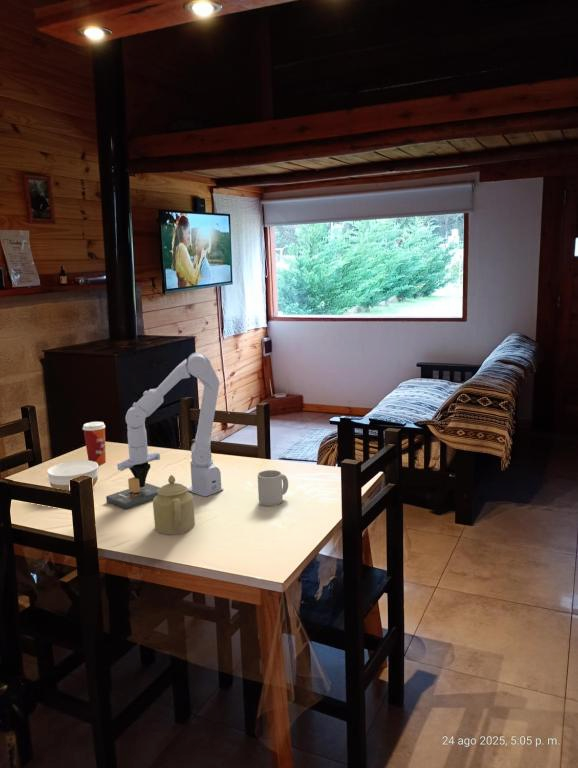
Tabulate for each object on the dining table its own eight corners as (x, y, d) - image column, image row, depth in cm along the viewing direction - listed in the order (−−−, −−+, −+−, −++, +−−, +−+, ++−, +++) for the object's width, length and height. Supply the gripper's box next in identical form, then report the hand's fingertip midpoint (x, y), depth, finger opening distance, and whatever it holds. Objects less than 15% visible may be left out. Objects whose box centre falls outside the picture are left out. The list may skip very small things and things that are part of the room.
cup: (254, 501, 194) (253, 473, 192) (282, 494, 199) (281, 466, 198) (266, 508, 188) (265, 479, 186) (294, 500, 193) (293, 472, 192)
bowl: (80, 479, 220) (78, 457, 219) (110, 487, 211) (108, 464, 209) (39, 493, 207) (36, 470, 206) (69, 503, 198) (66, 478, 197)
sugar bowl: (211, 529, 174) (208, 477, 172) (178, 542, 167) (174, 488, 164) (180, 515, 185) (176, 466, 182) (147, 527, 177) (143, 476, 175)
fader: (140, 491, 200) (139, 478, 199) (134, 493, 198) (133, 480, 197) (134, 489, 202) (133, 477, 201) (129, 491, 200) (128, 478, 199)
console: (165, 495, 202) (165, 489, 201) (125, 509, 191) (124, 503, 190) (146, 488, 208) (146, 482, 208) (106, 502, 197) (106, 496, 197)
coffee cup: (105, 465, 234) (101, 426, 231) (82, 466, 234) (78, 427, 231) (111, 459, 242) (108, 420, 239) (90, 459, 242) (86, 421, 240)
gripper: (149, 437, 207) (152, 477, 210) (110, 448, 197) (114, 490, 199) (162, 441, 202) (165, 482, 205) (123, 452, 192) (127, 495, 194)
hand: (141, 486), depth 202 cm, fingers closed
